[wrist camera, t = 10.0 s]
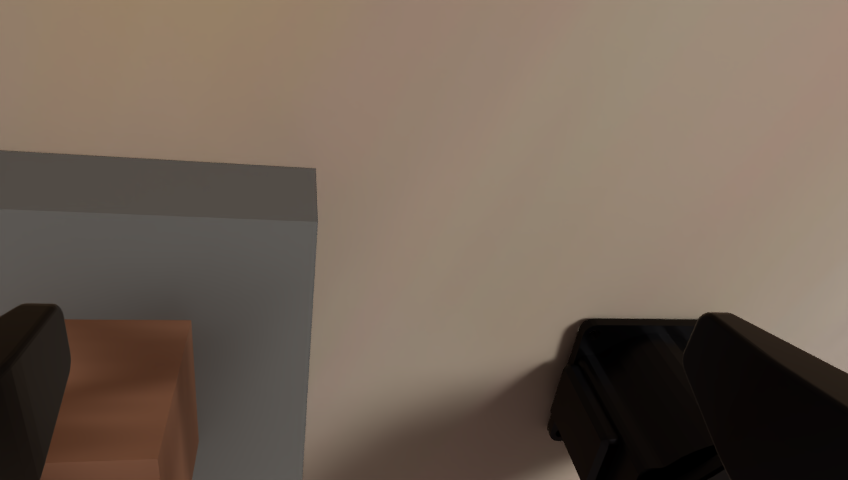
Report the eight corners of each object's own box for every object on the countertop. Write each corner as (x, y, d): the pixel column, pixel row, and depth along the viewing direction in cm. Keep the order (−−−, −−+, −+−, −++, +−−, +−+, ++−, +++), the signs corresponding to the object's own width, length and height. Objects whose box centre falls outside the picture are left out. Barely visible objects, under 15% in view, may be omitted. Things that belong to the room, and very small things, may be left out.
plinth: (316, 168, 20) (317, 222, 17) (301, 433, 26) (300, 506, 23) (-117, 143, 18) (-200, 200, 15) (-25, 442, 24) (-72, 525, 21)
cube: (191, 320, 18) (157, 459, 14) (198, 441, 21) (172, 590, 17) (-2, 319, 17) (-100, 467, 13) (30, 446, 20) (-44, 606, 16)
